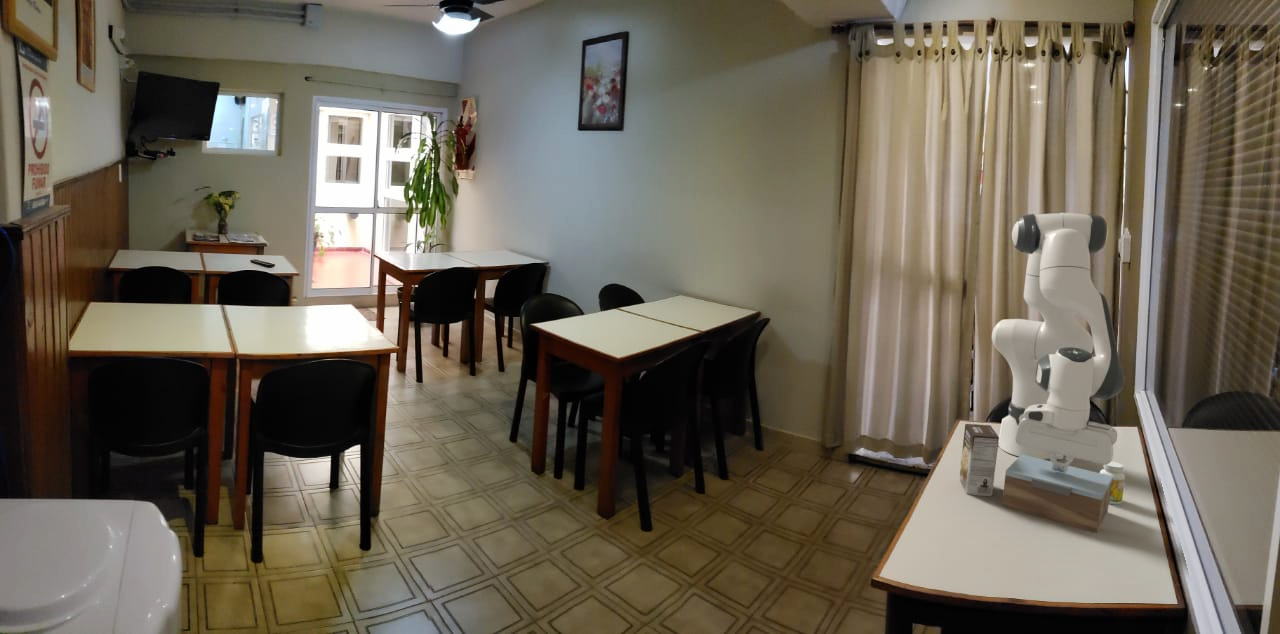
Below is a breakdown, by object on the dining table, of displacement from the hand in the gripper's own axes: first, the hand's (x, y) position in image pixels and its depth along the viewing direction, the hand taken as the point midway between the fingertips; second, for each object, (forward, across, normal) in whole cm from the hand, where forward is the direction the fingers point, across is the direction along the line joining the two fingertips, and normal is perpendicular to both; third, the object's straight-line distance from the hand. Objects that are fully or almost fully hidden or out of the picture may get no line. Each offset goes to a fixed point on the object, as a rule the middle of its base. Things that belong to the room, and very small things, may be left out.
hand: (1059, 470), depth 171 cm
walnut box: (+10, 0, 0) cm, 10 cm away
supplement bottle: (+10, -9, -15) cm, 20 cm away
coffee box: (+10, +18, +1) cm, 21 cm away
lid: (+2, 0, +1) cm, 2 cm away
